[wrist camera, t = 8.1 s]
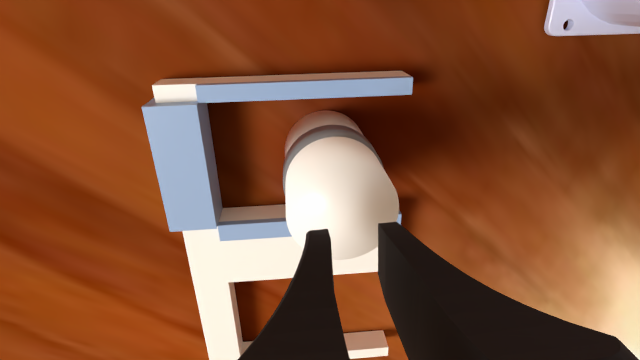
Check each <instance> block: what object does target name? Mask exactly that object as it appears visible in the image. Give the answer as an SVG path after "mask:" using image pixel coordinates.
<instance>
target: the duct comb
mask: <svg viewBox="0 0 640 360" xmlns="http://www.w3.org/2000/svg"><path fill="white" fill-rule="evenodd" d="M412 86H413V77H412V76H410V75H408V74H407V73H405V72H403V71H376V72H348V73H320V74H292V75H265V76H237V77H209V78H181V79H161V80H160V81H158V82H156V83H155V84H153V85H152V88H153V93H154V98H153V99H152V100H150V101H149V102H148V103H146V104H145V105H144V106H142V111H143V115H144V120H145V124H146V128H147V133H148V137H149V142H150V146H151V151H152V155H153V159H154V164H155V168H156V173H157V177H158V181H159V186H160V190H161V195H162V199H163V203H164V208H165V212H166V217H167V221H168V225H169V230H170V232H174V231H183V236H184V241H185V245H186V250H187V255H188V260H189V265H190V269H191V274H192V279H193V284H194V288H195V293H196V298H197V303H198V307H199V312H200V317H201V322H202V327H203V331H204V336H205V341H206V346H207V350H208V355H209V360H238V359H239V357H240V356H241V355H242V354H243V353H244V351H245V350H246V349H247V348H248V347H249V346H250V344H251V343H252V342H253V341H248V342H243V340H242V333H241V326H240V320H239V313H238V307H237V300H236V293H235V287H234V282H242V281H256V280H269V279H283V278H293V276H294V274H295V272H296V269H297V267H298V264H299V261H300V259H301V256H302V253H303V248H302V247H301V246H300V245H299V244H298V243H297V242H296V241H295V240H294V238H293V237H292V235H291V233H290V232H289V229H288V226H287V221H286V204H282V205H266V206H249V207H232V208H223V207H222V200H221V194H220V187H219V180H218V174H217V167H216V160H215V154H214V147H213V140H212V134H211V127H210V120H209V114H208V107H207V103H216V102H241V101H265V100H290V99H315V98H340V97H364V96H389V95H412ZM401 215H402V214H401V212H400V210H399V213H398V218H397V221H396V222H398V223H399V224H400V225H401ZM332 265H333V275H337V274H351V273H365V272H378V247H377V248H375V249H374V250H372V251H370V252H368V253H366V254H364V255H362V256H359V257H356V258H352V259H346V260H332ZM343 334H344V338H345V343H346V347H347V351H348V354H349V358H350V359H354V358H365V357H376V356H388V344H387V341H386V338H385V335H384V331H383V330H378V331H366V332H354V333H343Z"/></svg>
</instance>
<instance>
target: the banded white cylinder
mask: <svg viewBox="0 0 640 360" xmlns="http://www.w3.org/2000/svg"><path fill="white" fill-rule="evenodd" d="M283 189H284V194H285V197H286V221H287V226H288V229H289V232H290V233H291V235H292V237H293V238H294V240H295V241H296V242H297V243H298V244H299V245H300V246H301V247H302V248H303V249H304V245H305V240H306V233H307V232H308V231H310V230H320V229H328V231H329V235H330V238H331V250H332V260H346V259H352V258H356V257H359V256H362V255H364V254H366V253H368V252H370V251H372V250H374V249H375V248H377V247H378V223H388V222H396V221H397V218H398V213H399V200H398V195H397V192H396V189H395V187H394V186H393V184H392V182H391V180H390V179H389V177H388V175H387V174H386V172H385V170H384V168H383V165H382V162H381V160H380V158H379V156H378V154H377V153H376V151H375V149H374V148H373V146H372V145H371V143H370V142H369V141H368V139H367V138H366V137H365V136H364V135H363V134H362V132H361V130H360V129H359V127H358V126H357V124H356V123H355V122H354V121H353V120H352V119H350V118H349V117H348V116H346V115H344V114H342V113H339V112H336V111H330V110H322V111H316V112H313V113H310V114H308V115H306V116H304V117H302V118H301V119H300V120H299V121H297V122H296V123H295V124H294V126H293V127H292V128H291V130H290V132H289V133H288V136H287V139H286V143H285V160H284V165H283Z"/></svg>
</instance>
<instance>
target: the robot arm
mask: <svg viewBox="0 0 640 360" xmlns="http://www.w3.org/2000/svg"><path fill="white" fill-rule="evenodd" d="M566 20H568V26H567V28H565V29H563V24H564V22H565V21H566ZM544 30H545V32H546V33H547V34H548V35H551V36H575V35H609V34H640V0H550V2H549V7H548V11H547V16H546V21H545V25H544ZM378 275H379V279H380V283H381V287H382V291H383V295H384V298H385V302H386V304H387V307H388V309H389V312H390V314H391V317H392V319H393V322H394V324H395V327H396V329H397V332H398V334H399V337H400V339H401V342H402V344H403V347H404V349H405V352H406V354H407V357H408V359H409V360H639V359H638V358H637V357H636V356H635V355H634V354H633V353H632V352H631V351H630V350H629V349H628V348H627V347H626V346H625V345H624V344H623V343H622V342H621V341H619V340H618V339H617V338H616V337H614V336H611V335H608V334H605V333H601V332H598V331H595V330H592V329H589V328H586V327H583V326H579V325H576V324H573V323H570V322H567V321H564V320H562V319H559V318H557V317H554V316H551V315H549V314H546V313H543V312H541V311H538V310H536V309H534V308H531V307H529V306H527V305H524V304H522V303H520V302H518V301H516V300H513V299H511V298H509V297H507V296H505V295H503V294H501V293H499V292H497V291H495V290H493V289H491V288H489V287H487V286H486V285H484V284H482V283H480V282H479V281H477V280H475V279H473V278H472V277H470V276H468V275H467V274H465V273H463V272H462V271H460V270H459V269H457V268H456V267H454V266H453V265H451V264H450V263H449V262H447V261H446V260H444V259H443V258H441V257H440V256H439V255H437V254H436V253H435V252H433V251H432V250H431V249H429V248H428V247H427V246H426V245H424V244H423V243H422V242H421V241H419V240H418V239H417V238H416V237H414V236H413V235H412V234H411V233H410V232H409V231H407V230H406V229H405V228H404V227H403V226H401V225H400V224H399V223H398V222H388V223H378ZM238 360H350V358H349V354H348V351H347V347H346V343H345V338H344V334H343V330H342V326H341V321H340V317H339V312H338V308H337V303H336V298H335V294H334V281H333V265H332V250H331V238H330V235H329V231H328V229H320V230H310V231H308V232H307V233H306V240H305V245H304V249H303V253H302V256H301V259H300V261H299V264H298V267H297V269H296V272H295V274H294V276H293V278H292V281H291V283H290V285H289V287H288V289H287V291H286V293H285V295H284V297H283V298H282V300H281V302H280V304H279V305H278V307H277V309H276V310H275V312H274V313H273V315H272V316H271V318H270V319H269V321H268V322H267V324H266V325H265V327H264V328H263V329H262V331H261V332H260V333H259V335H258V336H257V337H256V338H255V340H254V341H253V342H252V343H251V344H250V346H249V347H248V348H247V349H246V350H245V351H244V353H243V354H242V355H241V356H240V357H239V359H238Z"/></svg>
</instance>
